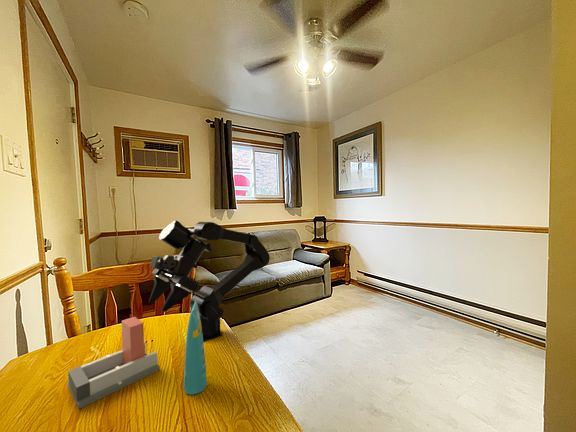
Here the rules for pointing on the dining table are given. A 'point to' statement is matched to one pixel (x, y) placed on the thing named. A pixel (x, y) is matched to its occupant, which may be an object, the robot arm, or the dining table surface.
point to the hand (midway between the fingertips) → (156, 306)
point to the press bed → (108, 376)
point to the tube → (194, 355)
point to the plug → (132, 339)
